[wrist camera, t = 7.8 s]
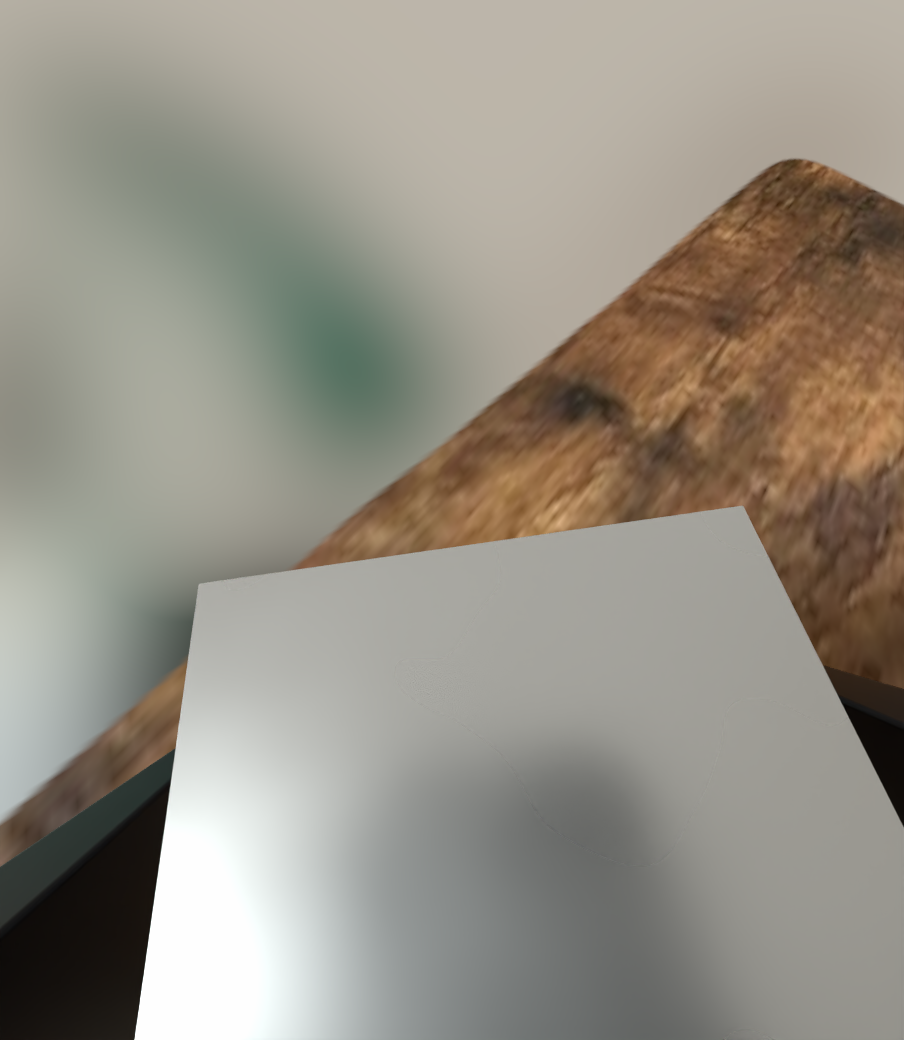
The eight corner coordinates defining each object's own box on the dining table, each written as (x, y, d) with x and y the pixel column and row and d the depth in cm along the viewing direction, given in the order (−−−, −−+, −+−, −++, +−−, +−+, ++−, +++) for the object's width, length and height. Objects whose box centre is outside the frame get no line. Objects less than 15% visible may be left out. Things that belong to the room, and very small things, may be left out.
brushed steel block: (600, 884, 14) (1069, 1159, 3) (417, 912, 14) (98, 1306, 3) (564, 723, 16) (736, 492, 5) (405, 746, 16) (201, 569, 5)
